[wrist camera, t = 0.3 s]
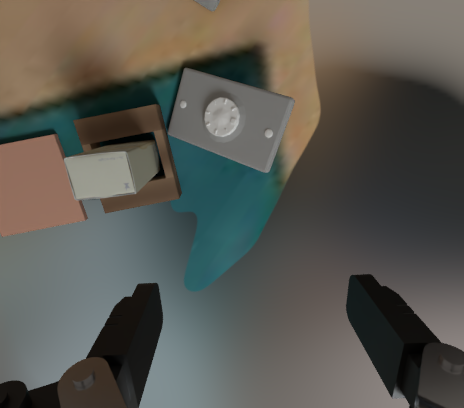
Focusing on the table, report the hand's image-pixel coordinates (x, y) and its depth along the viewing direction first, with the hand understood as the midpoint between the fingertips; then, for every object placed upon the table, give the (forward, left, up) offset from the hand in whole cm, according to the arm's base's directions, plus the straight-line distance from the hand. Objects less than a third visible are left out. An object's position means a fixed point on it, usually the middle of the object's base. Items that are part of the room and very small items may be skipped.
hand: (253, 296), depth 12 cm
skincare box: (-4, -12, -29) cm, 32 cm away
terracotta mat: (-3, -27, -29) cm, 40 cm away
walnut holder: (-4, -12, -29) cm, 32 cm away
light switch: (-7, +1, -29) cm, 30 cm away
